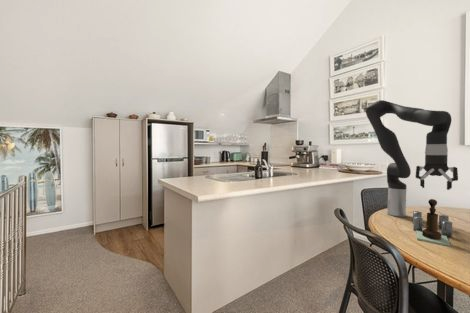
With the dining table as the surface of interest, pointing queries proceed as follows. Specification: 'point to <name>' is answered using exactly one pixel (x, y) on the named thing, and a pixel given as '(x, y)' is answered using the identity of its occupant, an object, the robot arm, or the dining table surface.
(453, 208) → the dining table surface
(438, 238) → the wooden pepper mill
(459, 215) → the dining table surface
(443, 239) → the green mat
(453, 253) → the dining table surface
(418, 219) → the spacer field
